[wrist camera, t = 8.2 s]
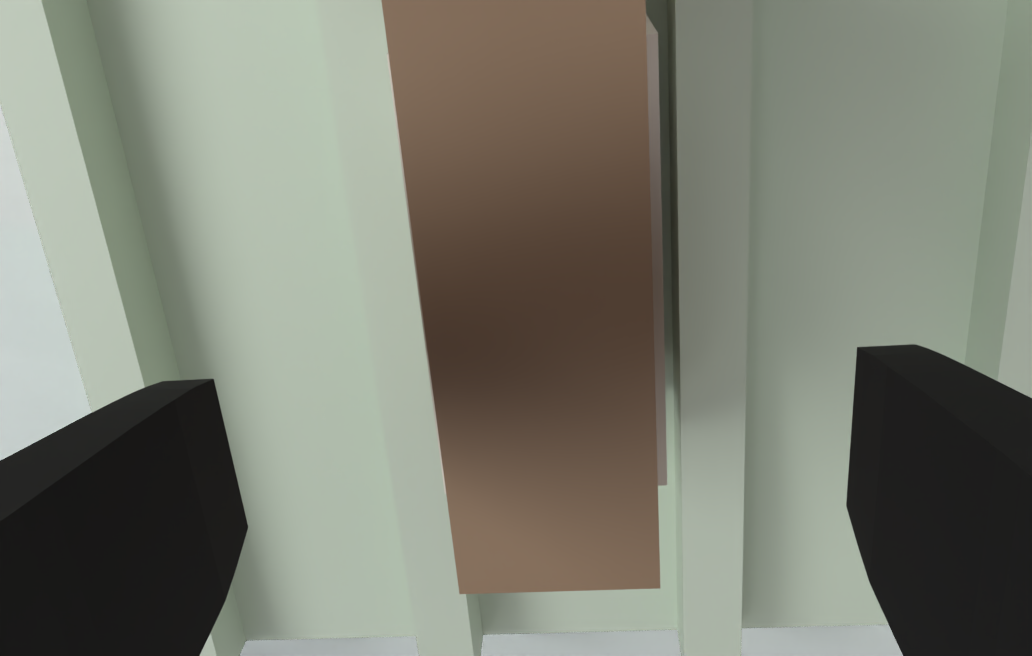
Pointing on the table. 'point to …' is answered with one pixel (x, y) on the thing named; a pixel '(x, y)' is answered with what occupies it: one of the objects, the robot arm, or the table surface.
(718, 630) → the green slotted rack
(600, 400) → the frame
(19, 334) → the table surface
